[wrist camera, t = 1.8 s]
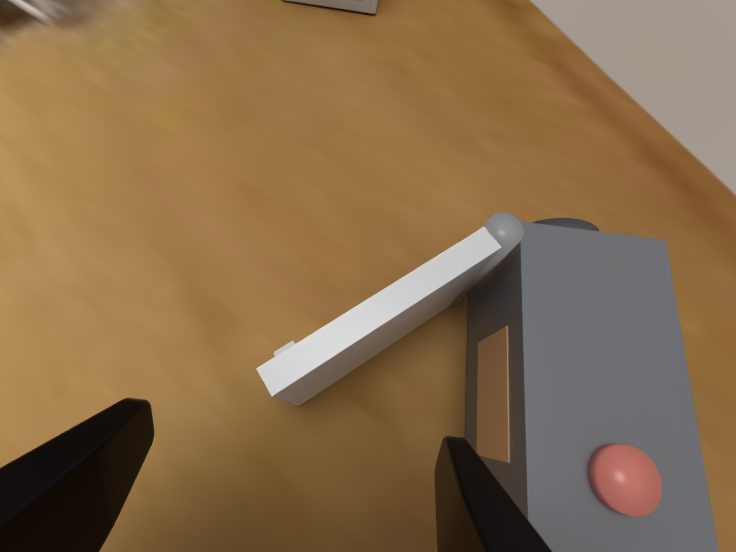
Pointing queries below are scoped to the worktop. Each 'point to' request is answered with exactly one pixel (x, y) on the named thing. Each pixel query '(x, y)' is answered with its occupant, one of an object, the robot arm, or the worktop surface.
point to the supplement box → (345, 4)
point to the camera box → (588, 392)
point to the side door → (389, 314)
